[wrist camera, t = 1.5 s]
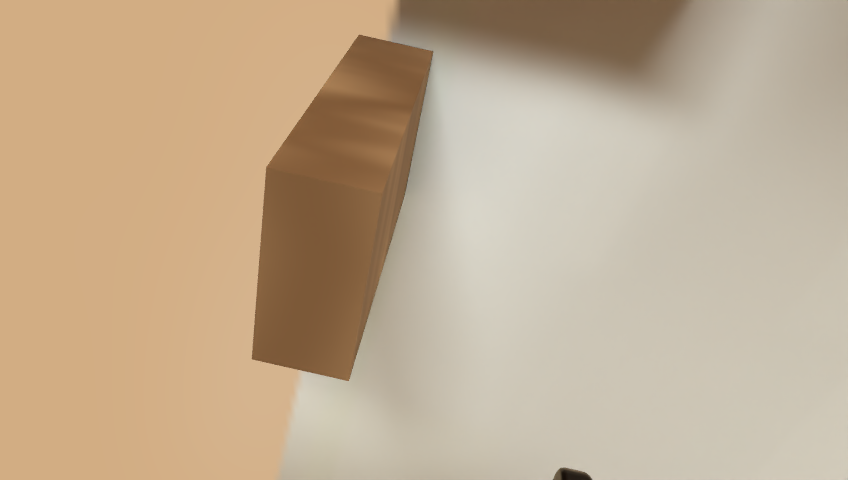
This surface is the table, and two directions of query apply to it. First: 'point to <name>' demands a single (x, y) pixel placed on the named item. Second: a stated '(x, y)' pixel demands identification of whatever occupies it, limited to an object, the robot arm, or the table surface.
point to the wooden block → (336, 208)
